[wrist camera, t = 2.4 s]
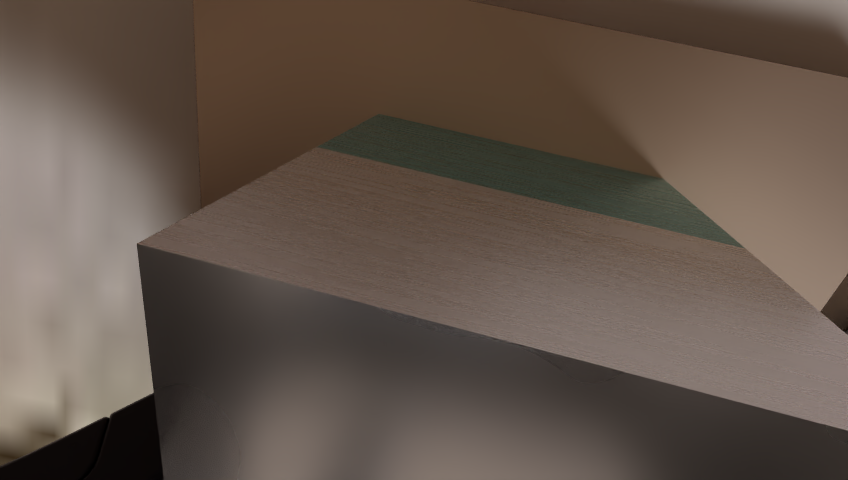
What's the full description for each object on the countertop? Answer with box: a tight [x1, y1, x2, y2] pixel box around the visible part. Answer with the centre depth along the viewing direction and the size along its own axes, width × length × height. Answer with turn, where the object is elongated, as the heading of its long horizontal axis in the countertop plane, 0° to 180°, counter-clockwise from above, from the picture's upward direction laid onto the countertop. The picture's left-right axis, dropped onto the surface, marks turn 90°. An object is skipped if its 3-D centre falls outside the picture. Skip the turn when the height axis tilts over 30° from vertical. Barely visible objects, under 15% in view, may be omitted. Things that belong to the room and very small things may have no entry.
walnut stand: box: [193, 0, 848, 311], centre depth 10 cm, size 12×12×2 cm
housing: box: [137, 114, 848, 480], centre depth 7 cm, size 8×5×6 cm, turn 170°
